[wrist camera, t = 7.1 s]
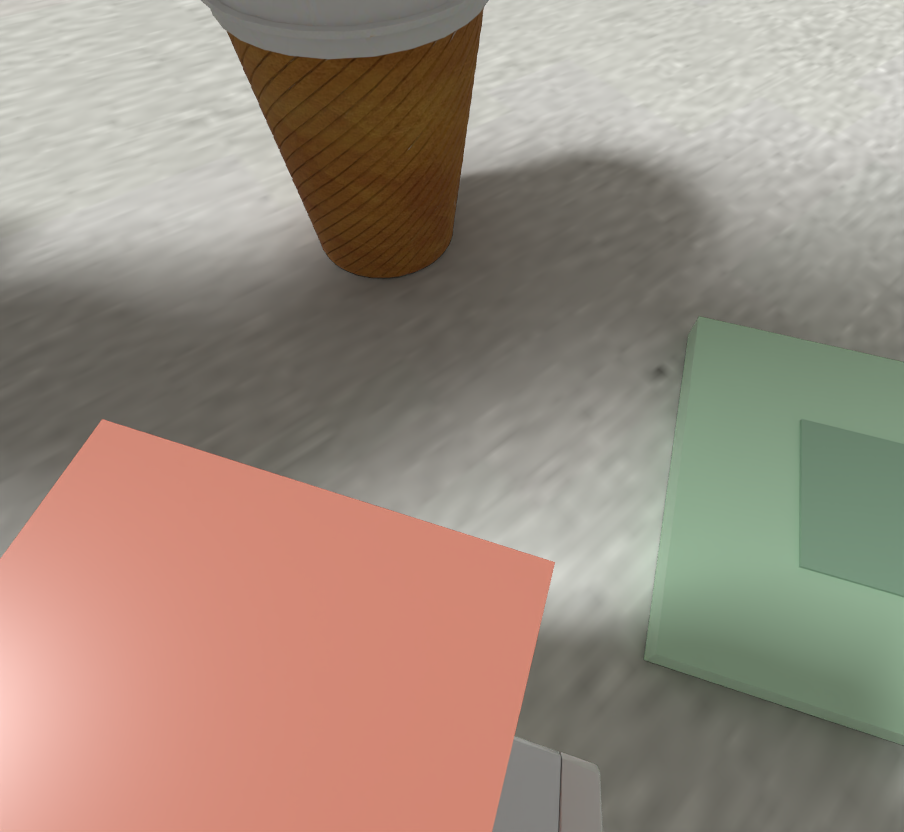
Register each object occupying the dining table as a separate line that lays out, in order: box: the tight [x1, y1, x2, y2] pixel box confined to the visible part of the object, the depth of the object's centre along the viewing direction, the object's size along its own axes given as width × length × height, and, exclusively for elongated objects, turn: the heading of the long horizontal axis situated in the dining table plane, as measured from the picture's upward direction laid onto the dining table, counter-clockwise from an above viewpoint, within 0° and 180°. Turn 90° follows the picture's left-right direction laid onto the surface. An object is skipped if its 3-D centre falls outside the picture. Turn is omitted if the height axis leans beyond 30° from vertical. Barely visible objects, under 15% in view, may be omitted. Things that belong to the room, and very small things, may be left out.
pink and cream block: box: [0, 419, 555, 832], centre depth 8 cm, size 5×5×9 cm
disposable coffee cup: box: [201, 0, 488, 278], centre depth 21 cm, size 10×10×12 cm
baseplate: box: [644, 316, 904, 745], centre depth 18 cm, size 13×13×1 cm
